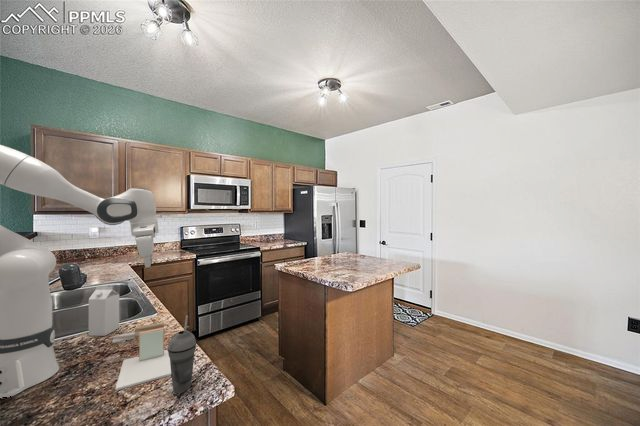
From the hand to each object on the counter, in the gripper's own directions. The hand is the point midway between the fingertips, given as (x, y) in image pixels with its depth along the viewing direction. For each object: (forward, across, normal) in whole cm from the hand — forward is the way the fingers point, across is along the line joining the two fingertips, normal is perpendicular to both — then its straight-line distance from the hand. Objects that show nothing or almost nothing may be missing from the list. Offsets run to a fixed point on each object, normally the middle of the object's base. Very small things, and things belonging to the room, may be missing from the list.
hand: (148, 264), depth 101 cm
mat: (+30, +21, -2) cm, 36 cm away
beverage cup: (+31, +37, +7) cm, 49 cm away
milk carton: (+28, -19, -19) cm, 39 cm away
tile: (+25, +16, 0) cm, 29 cm away
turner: (+29, -8, -6) cm, 31 cm away
